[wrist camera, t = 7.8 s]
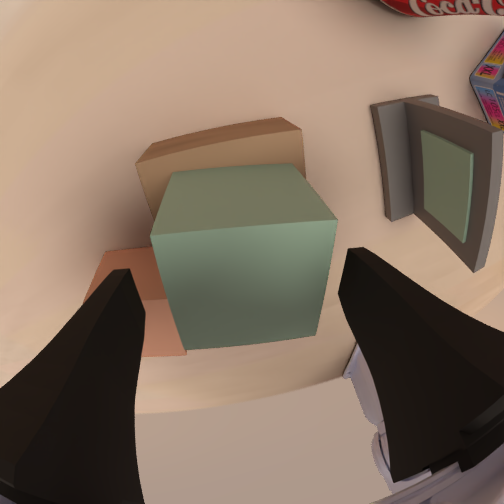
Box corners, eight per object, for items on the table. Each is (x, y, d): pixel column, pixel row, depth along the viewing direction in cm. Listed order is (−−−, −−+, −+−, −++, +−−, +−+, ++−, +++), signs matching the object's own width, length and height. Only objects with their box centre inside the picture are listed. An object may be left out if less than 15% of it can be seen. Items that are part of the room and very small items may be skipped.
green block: (287, 258, 14) (315, 335, 10) (188, 267, 14) (184, 349, 10) (292, 163, 11) (337, 219, 7) (172, 172, 11) (149, 236, 7)
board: (430, 94, 13) (522, 126, 7) (436, 197, 18) (503, 254, 12) (370, 104, 13) (464, 139, 7) (385, 216, 18) (449, 287, 12)
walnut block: (291, 224, 18) (310, 262, 15) (185, 246, 18) (180, 288, 15) (280, 116, 14) (301, 129, 11) (153, 142, 14) (135, 163, 10)
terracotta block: (188, 299, 20) (186, 355, 16) (126, 303, 20) (114, 356, 16) (176, 243, 17) (167, 298, 13) (106, 250, 17) (82, 303, 13)
